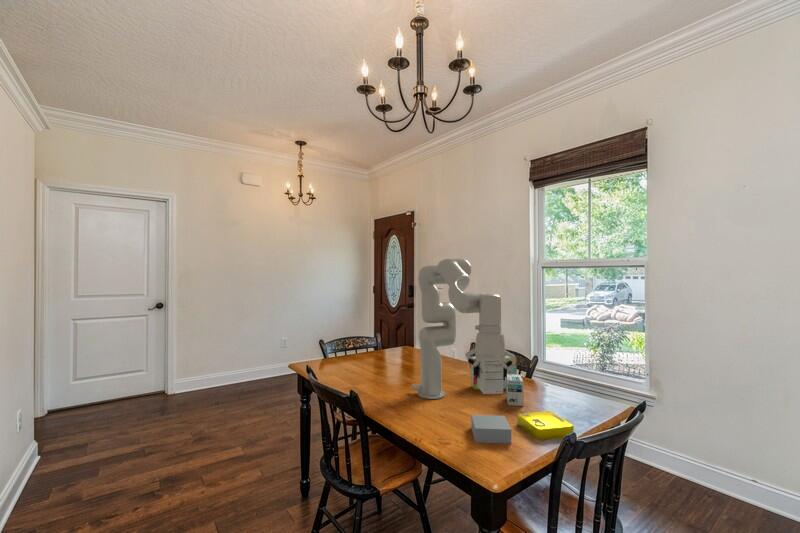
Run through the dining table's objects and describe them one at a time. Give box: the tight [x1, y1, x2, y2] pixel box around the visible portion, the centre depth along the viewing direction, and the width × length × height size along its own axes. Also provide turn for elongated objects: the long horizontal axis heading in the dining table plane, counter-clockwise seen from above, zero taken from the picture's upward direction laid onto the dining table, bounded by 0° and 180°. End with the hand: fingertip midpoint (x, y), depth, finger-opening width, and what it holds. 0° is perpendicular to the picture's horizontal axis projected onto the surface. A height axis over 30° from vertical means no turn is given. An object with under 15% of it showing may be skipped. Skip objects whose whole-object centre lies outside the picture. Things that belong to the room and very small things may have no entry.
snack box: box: [470, 355, 518, 390], centre depth 188 cm, size 21×6×15 cm, turn 92°
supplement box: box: [477, 357, 504, 395], centre depth 135 cm, size 7×7×13 cm
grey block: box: [470, 414, 512, 444], centre depth 135 cm, size 12×12×5 cm
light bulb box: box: [505, 374, 525, 407], centre depth 169 cm, size 11×7×11 cm, turn 168°
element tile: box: [516, 410, 575, 442], centre depth 139 cm, size 15×15×5 cm
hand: (490, 378), depth 135 cm, fingers closed on supplement box, 8 cm apart
